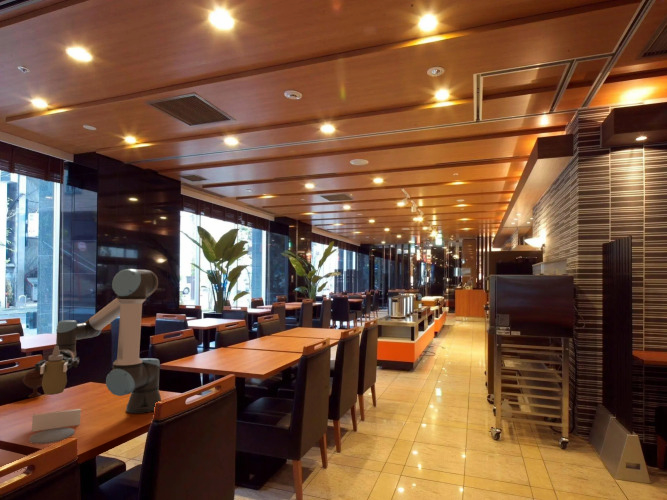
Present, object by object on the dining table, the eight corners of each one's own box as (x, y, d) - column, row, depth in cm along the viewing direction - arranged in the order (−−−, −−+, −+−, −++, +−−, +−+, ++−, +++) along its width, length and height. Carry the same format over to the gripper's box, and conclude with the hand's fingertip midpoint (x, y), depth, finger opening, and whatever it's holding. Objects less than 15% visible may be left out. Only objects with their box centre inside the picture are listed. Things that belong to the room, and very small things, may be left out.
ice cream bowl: (43, 391, 215) (45, 363, 216) (50, 395, 208) (52, 366, 209) (19, 396, 207) (21, 366, 208) (25, 400, 200) (27, 369, 201)
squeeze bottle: (45, 397, 148) (48, 348, 150) (37, 393, 153) (40, 346, 155) (69, 392, 155) (72, 345, 156) (62, 389, 160) (64, 343, 161)
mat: (82, 433, 156) (82, 430, 156) (44, 446, 143) (44, 443, 143) (59, 427, 161) (59, 425, 161) (21, 439, 149) (21, 437, 149)
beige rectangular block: (80, 423, 166) (80, 408, 167) (79, 424, 164) (80, 409, 165) (32, 429, 159) (33, 414, 159) (31, 431, 157) (32, 415, 158)
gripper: (88, 366, 175) (82, 376, 154) (33, 370, 166) (20, 382, 146) (89, 348, 175) (83, 357, 155) (34, 352, 167) (21, 361, 146)
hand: (53, 369), depth 150 cm, fingers closed on squeeze bottle, 6 cm apart
